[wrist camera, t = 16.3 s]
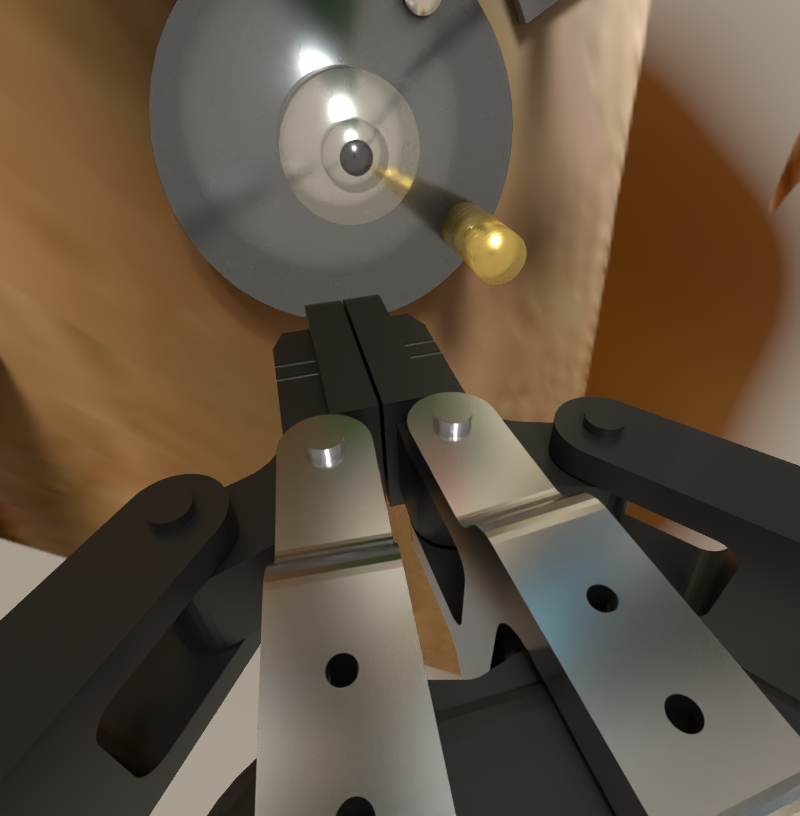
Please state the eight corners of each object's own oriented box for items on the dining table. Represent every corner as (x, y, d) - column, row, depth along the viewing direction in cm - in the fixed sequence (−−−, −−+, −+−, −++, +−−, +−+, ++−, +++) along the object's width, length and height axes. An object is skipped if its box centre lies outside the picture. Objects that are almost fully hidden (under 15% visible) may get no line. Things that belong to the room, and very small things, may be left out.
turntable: (112, 228, 30) (76, 283, 23) (232, -204, 21) (228, -306, 15) (398, 344, 39) (429, 406, 33) (558, 75, 31) (643, 86, 24)
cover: (293, 217, 30) (300, 244, 26) (260, 75, 25) (262, 83, 22) (408, 195, 30) (432, 218, 27) (395, 55, 26) (420, 59, 22)
